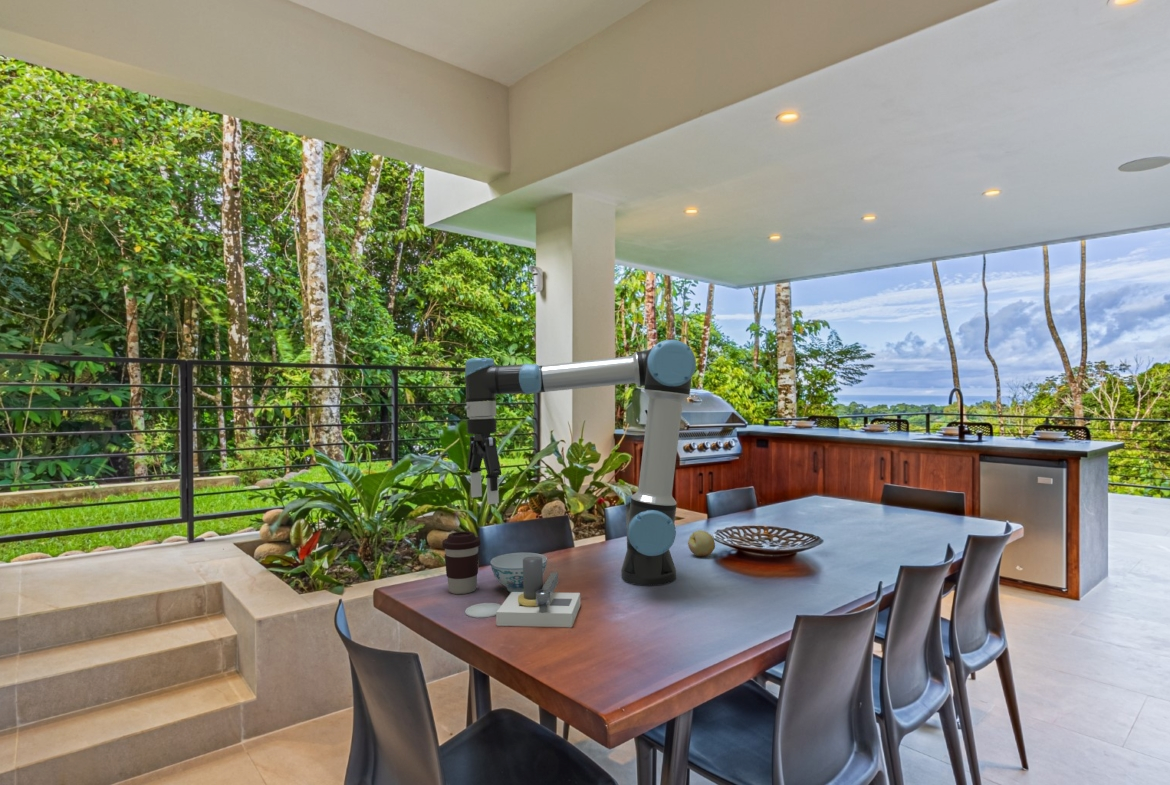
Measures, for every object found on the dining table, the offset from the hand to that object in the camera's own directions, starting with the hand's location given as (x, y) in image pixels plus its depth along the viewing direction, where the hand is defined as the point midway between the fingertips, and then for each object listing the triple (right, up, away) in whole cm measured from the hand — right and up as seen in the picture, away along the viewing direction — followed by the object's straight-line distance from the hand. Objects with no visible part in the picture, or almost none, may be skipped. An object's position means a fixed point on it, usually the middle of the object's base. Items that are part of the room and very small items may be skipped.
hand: (484, 500), depth 155 cm
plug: (+14, -24, -15) cm, 32 cm away
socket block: (+16, -24, -15) cm, 32 cm away
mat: (+2, -24, -12) cm, 27 cm away
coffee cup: (-7, -25, +5) cm, 26 cm away
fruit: (+62, -24, +32) cm, 74 cm away
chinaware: (+9, -25, +5) cm, 26 cm away
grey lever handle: (+17, -19, -15) cm, 30 cm away
